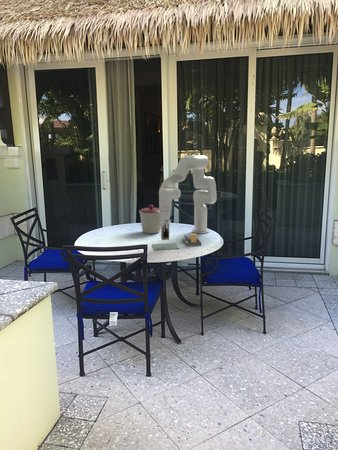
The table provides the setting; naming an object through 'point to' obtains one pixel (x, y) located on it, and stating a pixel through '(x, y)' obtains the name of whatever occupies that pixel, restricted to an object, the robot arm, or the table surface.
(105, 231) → the table surface
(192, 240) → the tan orange cube block
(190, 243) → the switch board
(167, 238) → the brown rectangular block
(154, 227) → the canister
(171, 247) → the tool mat
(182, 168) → the robot arm
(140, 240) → the table surface
